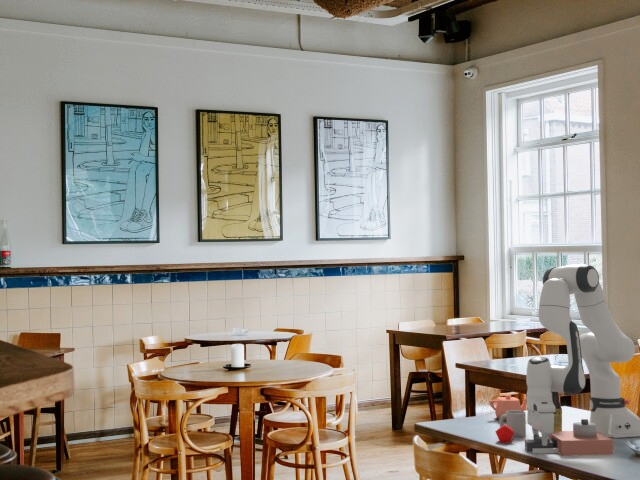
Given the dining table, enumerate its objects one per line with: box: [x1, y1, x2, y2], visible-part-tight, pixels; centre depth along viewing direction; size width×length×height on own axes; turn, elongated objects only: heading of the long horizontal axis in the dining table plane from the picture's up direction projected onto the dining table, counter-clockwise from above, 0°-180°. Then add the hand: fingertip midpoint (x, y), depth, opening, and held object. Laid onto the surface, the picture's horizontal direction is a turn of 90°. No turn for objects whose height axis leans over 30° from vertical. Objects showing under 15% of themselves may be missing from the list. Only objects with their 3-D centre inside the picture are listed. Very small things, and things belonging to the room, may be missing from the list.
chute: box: [524, 436, 553, 453], centre depth 292 cm, size 9×5×5 cm, turn 84°
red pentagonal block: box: [495, 424, 514, 444], centre depth 307 cm, size 7×7×8 cm
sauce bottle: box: [551, 391, 563, 431], centre depth 310 cm, size 6×6×20 cm
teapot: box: [488, 394, 527, 422], centre depth 351 cm, size 12×18×10 cm, turn 90°
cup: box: [498, 410, 527, 438], centre depth 319 cm, size 7×10×9 cm
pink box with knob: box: [532, 418, 614, 456], centre depth 292 cm, size 27×16×11 cm, turn 92°
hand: (540, 442), depth 292 cm, fingers open, 8 cm apart
